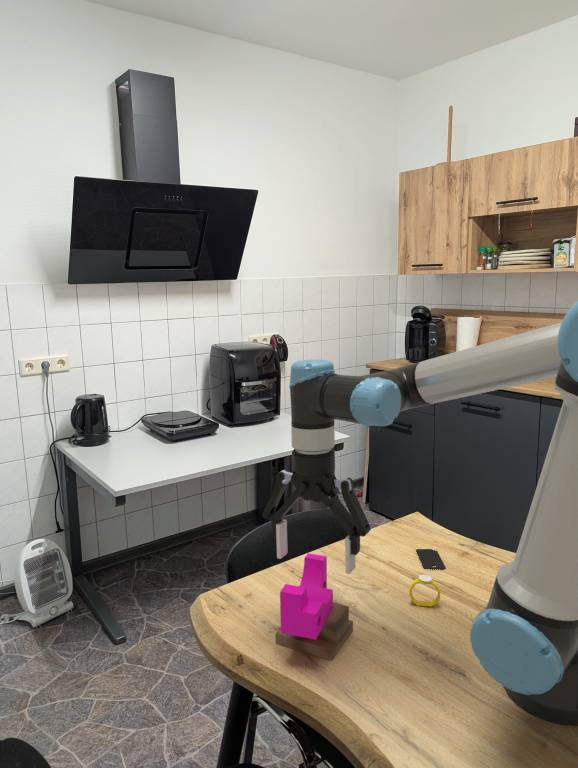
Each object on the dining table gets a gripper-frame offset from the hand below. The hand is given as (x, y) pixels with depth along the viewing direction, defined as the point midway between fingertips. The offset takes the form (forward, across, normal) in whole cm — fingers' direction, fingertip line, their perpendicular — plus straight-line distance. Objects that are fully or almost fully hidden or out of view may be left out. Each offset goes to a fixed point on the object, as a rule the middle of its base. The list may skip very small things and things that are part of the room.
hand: (315, 563), depth 105 cm
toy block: (+9, 0, +2) cm, 9 cm away
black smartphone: (+15, -10, -40) cm, 44 cm away
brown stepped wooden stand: (+15, 0, 0) cm, 15 cm away
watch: (+15, -15, -20) cm, 29 cm away
